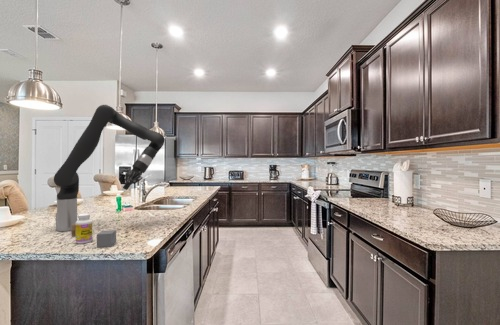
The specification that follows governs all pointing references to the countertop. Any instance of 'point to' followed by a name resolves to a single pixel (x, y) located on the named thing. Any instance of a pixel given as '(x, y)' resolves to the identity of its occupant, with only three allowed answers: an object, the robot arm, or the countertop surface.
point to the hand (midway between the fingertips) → (124, 189)
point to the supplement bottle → (83, 229)
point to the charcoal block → (106, 238)
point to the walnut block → (74, 230)
